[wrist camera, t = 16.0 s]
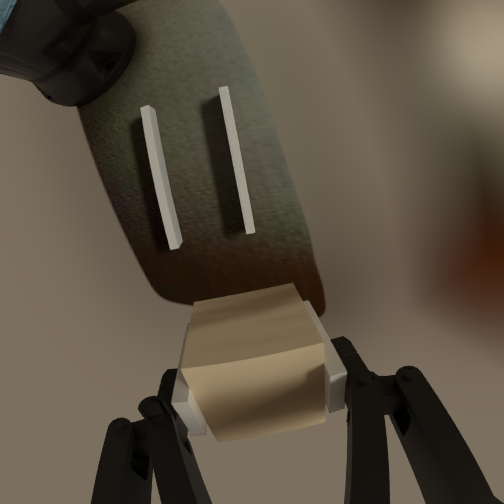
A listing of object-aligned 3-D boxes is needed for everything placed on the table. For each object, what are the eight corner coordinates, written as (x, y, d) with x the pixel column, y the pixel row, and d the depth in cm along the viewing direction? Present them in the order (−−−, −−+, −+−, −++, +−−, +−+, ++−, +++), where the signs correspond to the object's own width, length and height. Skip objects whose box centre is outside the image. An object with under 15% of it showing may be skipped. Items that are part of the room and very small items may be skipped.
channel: (147, 112, 28) (140, 107, 25) (227, 92, 28) (227, 86, 26) (175, 242, 34) (170, 249, 31) (253, 226, 34) (255, 232, 31)
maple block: (194, 302, 16) (180, 369, 10) (292, 282, 16) (324, 342, 10) (218, 373, 18) (217, 441, 12) (301, 357, 18) (325, 422, 12)
